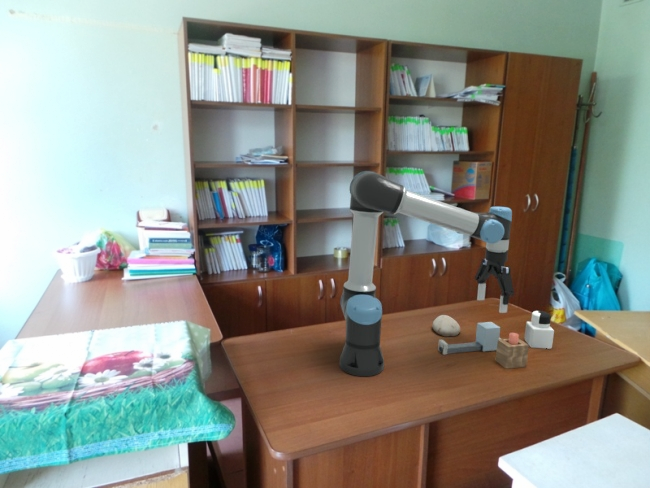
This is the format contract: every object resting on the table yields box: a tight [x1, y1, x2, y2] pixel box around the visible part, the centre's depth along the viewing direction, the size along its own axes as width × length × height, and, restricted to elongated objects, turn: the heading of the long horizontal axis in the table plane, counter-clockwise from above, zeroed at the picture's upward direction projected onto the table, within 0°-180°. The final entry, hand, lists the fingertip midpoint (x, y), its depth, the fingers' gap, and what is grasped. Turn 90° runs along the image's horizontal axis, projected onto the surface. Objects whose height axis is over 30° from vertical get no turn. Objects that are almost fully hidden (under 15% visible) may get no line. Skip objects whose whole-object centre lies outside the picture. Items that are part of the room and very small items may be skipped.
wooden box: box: [495, 338, 530, 370], centre depth 155 cm, size 8×6×8 cm
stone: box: [432, 314, 461, 337], centre depth 183 cm, size 13×10×8 cm
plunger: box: [508, 331, 520, 345], centre depth 155 cm, size 3×3×8 cm
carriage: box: [474, 321, 501, 352], centre depth 167 cm, size 6×6×9 cm
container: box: [524, 310, 555, 350], centre depth 171 cm, size 8×8×13 cm
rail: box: [437, 336, 502, 355], centre depth 166 cm, size 24×4×4 cm, turn 104°
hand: (491, 306), depth 165 cm, fingers open, 13 cm apart
